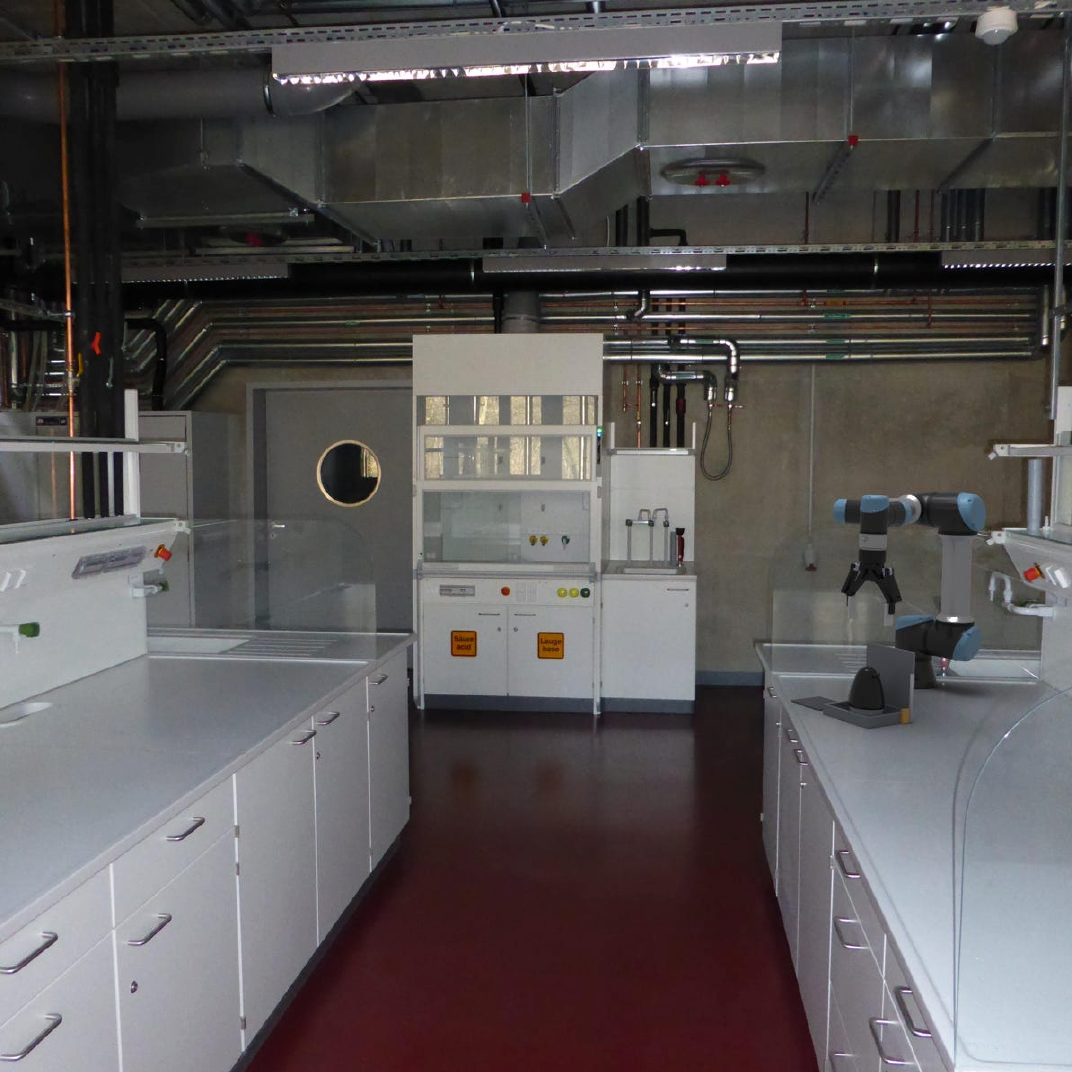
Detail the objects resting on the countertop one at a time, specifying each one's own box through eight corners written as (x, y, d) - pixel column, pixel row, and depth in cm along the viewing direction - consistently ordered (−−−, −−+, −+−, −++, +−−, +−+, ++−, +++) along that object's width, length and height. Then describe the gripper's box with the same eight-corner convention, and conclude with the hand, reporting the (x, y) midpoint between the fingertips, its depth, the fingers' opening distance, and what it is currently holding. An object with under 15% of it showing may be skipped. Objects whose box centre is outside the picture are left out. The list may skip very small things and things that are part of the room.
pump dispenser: (861, 723, 272) (863, 671, 271) (840, 714, 282) (842, 663, 281) (892, 721, 275) (894, 669, 273) (870, 711, 285) (872, 661, 283)
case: (866, 706, 290) (868, 642, 289) (915, 722, 274) (918, 653, 272) (822, 713, 282) (825, 647, 280) (871, 730, 266) (874, 659, 264)
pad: (819, 697, 301) (819, 696, 301) (848, 706, 291) (848, 704, 291) (790, 701, 296) (790, 700, 296) (819, 710, 285) (819, 709, 285)
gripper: (830, 545, 283) (827, 616, 285) (898, 553, 261) (895, 630, 263) (849, 544, 287) (846, 614, 289) (917, 552, 265) (913, 628, 267)
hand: (869, 622), depth 276 cm, fingers open, 13 cm apart
